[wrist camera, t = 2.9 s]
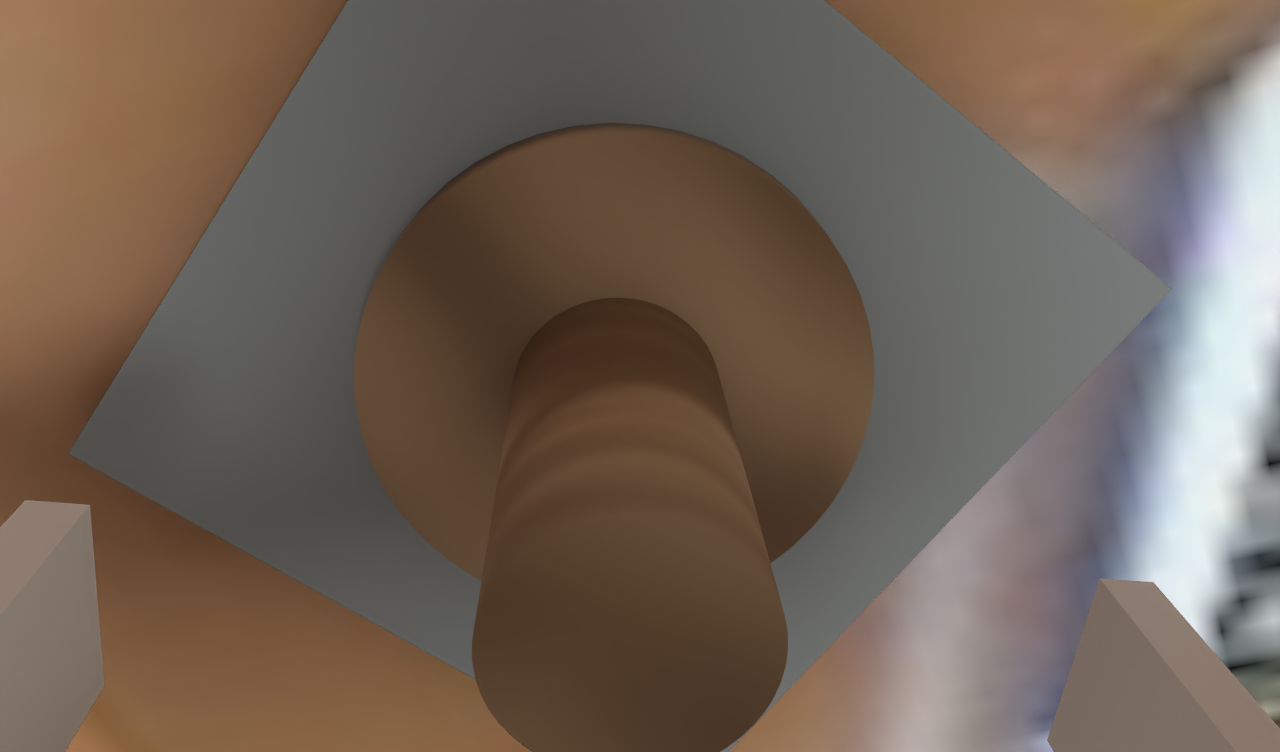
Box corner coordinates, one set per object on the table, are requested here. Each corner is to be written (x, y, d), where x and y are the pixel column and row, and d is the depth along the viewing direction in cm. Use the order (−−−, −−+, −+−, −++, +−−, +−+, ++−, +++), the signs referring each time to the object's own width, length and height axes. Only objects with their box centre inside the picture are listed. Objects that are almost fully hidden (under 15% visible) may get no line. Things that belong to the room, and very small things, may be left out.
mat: (513, -254, 19) (510, -262, 18) (1149, 273, 23) (1172, 288, 22) (88, 432, 24) (68, 453, 23) (682, 766, 28) (685, 796, 27)
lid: (554, 9, 20) (528, 87, 11) (962, 319, 22) (1188, 573, 14) (272, 423, 23) (82, 732, 14) (661, 654, 25) (698, 1031, 17)
